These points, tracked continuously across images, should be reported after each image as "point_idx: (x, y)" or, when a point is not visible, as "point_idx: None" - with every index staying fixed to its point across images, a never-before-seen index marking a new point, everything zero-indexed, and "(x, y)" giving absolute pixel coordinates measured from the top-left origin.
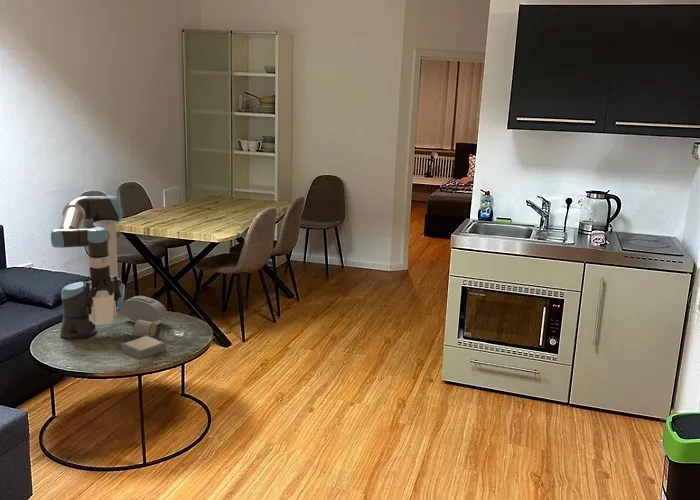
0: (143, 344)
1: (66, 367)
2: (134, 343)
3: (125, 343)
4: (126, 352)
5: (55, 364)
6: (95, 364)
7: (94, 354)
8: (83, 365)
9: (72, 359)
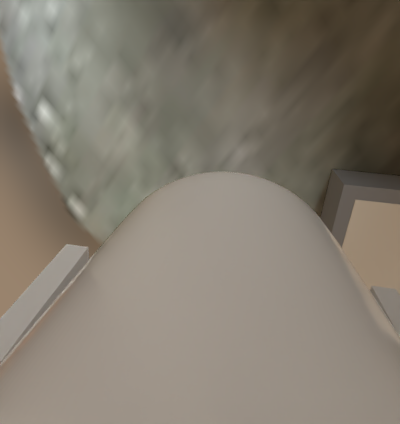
0: (394, 287)
1: (34, 104)
2: (383, 242)
3: (359, 202)
4: (323, 212)
5: (6, 17)
6: (146, 189)
7: (220, 79)
8: (103, 153)
9: (102, 35)
